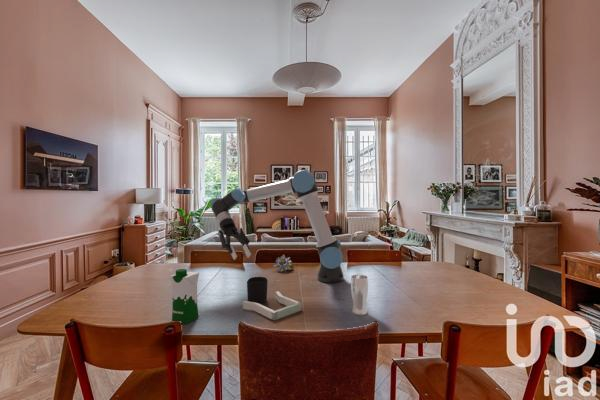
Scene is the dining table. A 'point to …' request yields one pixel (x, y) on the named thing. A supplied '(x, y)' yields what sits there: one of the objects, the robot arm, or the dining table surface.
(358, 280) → the beer glass
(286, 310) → the bay
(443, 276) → the dining table surface
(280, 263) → the grey spiky ball
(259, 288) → the pen holder
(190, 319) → the milk carton
